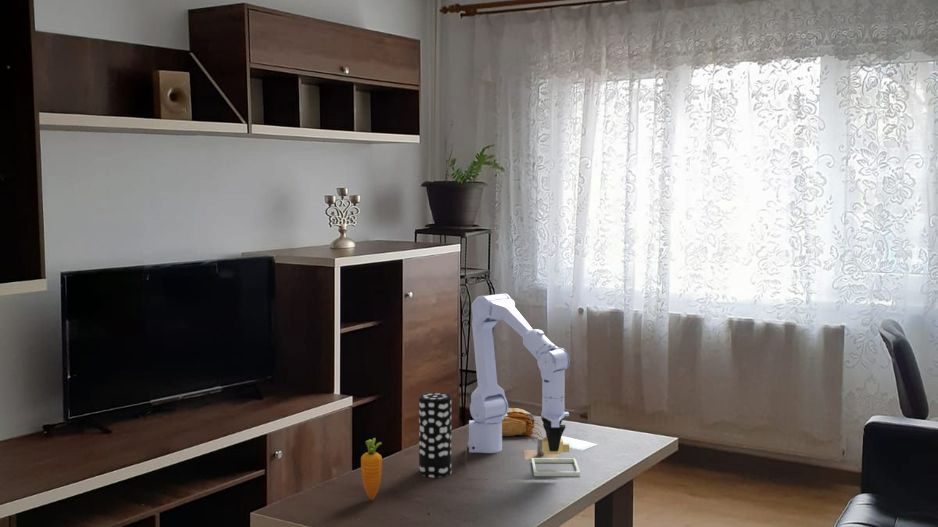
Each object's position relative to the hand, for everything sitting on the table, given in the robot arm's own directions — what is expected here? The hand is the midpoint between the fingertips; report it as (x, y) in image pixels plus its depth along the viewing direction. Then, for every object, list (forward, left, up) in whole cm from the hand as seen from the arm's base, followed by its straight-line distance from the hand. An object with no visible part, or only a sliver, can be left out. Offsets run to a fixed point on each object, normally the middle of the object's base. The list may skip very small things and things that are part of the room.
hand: (552, 447), depth 240 cm
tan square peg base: (-2, +12, -6) cm, 14 cm away
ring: (0, 0, -1) cm, 1 cm away
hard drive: (+7, +23, -7) cm, 25 cm away
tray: (+1, 0, -6) cm, 6 cm away
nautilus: (-9, +32, -7) cm, 34 cm away
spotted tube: (-30, -1, -7) cm, 31 cm away
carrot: (-44, -22, -7) cm, 50 cm away
